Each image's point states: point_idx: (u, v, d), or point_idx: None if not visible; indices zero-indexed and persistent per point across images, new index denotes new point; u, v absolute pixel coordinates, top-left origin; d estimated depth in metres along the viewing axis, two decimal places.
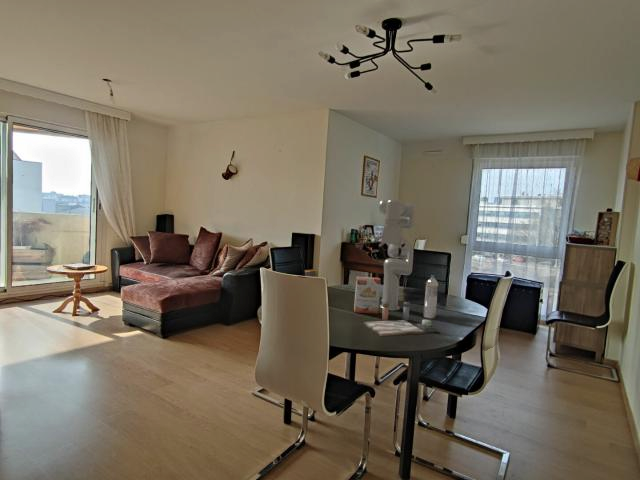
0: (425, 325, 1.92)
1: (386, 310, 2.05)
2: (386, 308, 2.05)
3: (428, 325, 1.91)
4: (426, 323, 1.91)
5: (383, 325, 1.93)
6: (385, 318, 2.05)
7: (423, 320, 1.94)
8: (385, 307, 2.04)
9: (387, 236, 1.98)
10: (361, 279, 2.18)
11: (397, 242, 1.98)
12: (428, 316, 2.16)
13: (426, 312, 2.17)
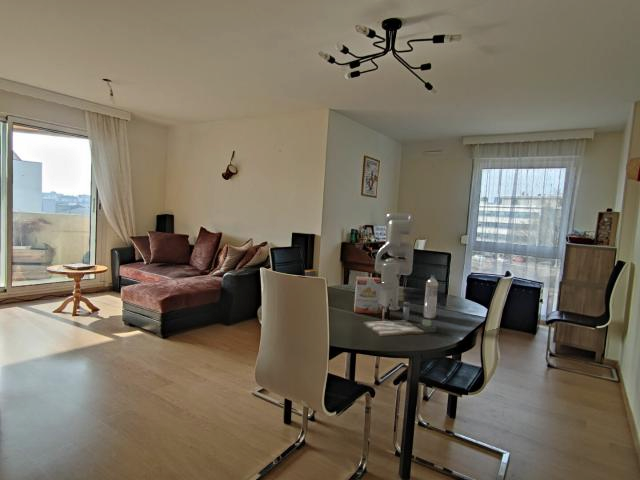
0: (425, 325, 1.92)
1: None
2: None
3: (428, 325, 1.91)
4: (426, 323, 1.91)
5: (383, 325, 1.93)
6: None
7: (423, 320, 1.94)
8: None
9: None
10: (361, 279, 2.18)
11: None
12: (428, 316, 2.16)
13: (426, 312, 2.17)
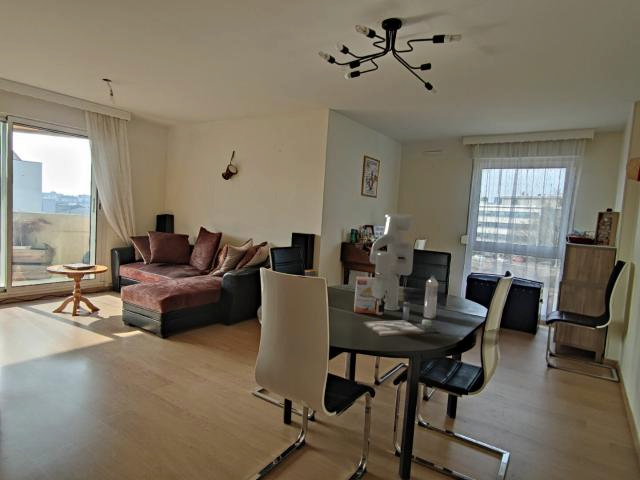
0: (425, 325, 1.92)
1: None
2: None
3: (428, 325, 1.91)
4: (426, 323, 1.91)
5: (383, 325, 1.93)
6: None
7: (423, 320, 1.94)
8: None
9: None
10: (361, 279, 2.18)
11: None
12: (428, 316, 2.16)
13: (426, 312, 2.17)
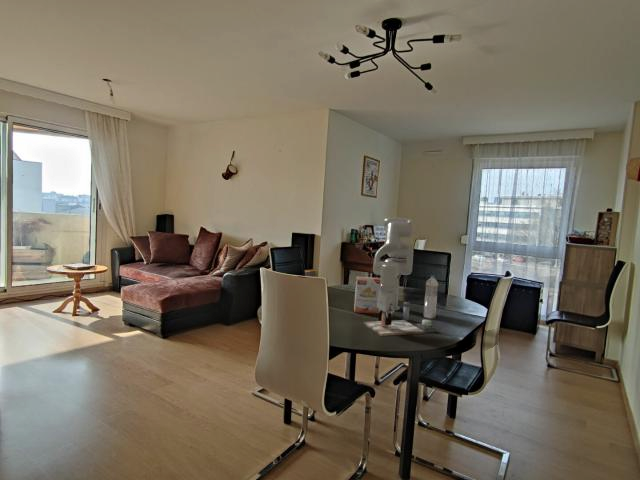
0: (425, 325, 1.92)
1: (386, 316, 1.88)
2: None
3: (428, 325, 1.91)
4: (426, 323, 1.91)
5: None
6: (384, 324, 1.88)
7: (423, 320, 1.94)
8: (385, 313, 1.88)
9: None
10: (361, 279, 2.18)
11: None
12: (428, 316, 2.16)
13: (426, 312, 2.17)
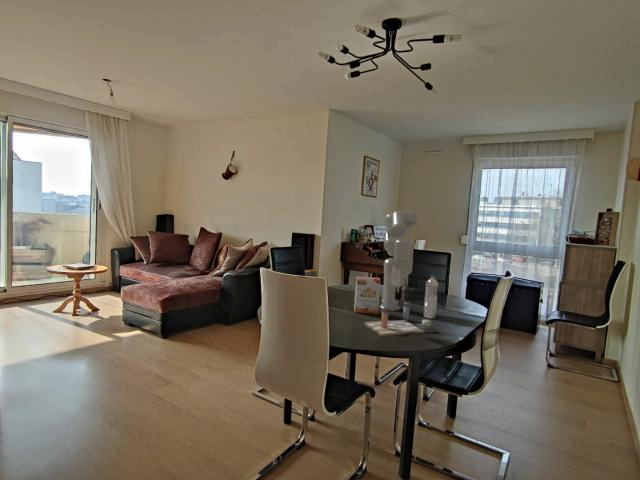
0: (425, 325, 1.92)
1: (386, 316, 1.88)
2: (386, 314, 1.88)
3: (428, 325, 1.91)
4: (426, 323, 1.91)
5: None
6: (384, 324, 1.88)
7: (423, 320, 1.94)
8: (385, 313, 1.88)
9: None
10: (361, 279, 2.18)
11: None
12: (428, 316, 2.16)
13: (426, 312, 2.17)
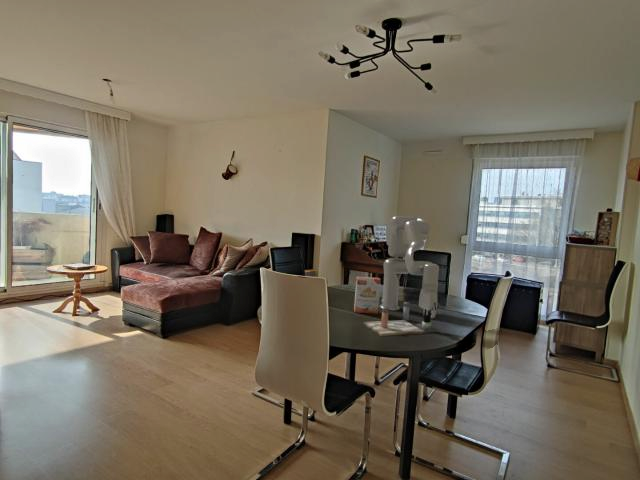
0: (425, 326, 1.92)
1: (386, 316, 1.88)
2: (386, 314, 1.88)
3: (428, 326, 1.91)
4: (426, 324, 1.91)
5: None
6: (384, 324, 1.88)
7: None
8: (385, 313, 1.88)
9: None
10: (361, 279, 2.18)
11: None
12: None
13: None
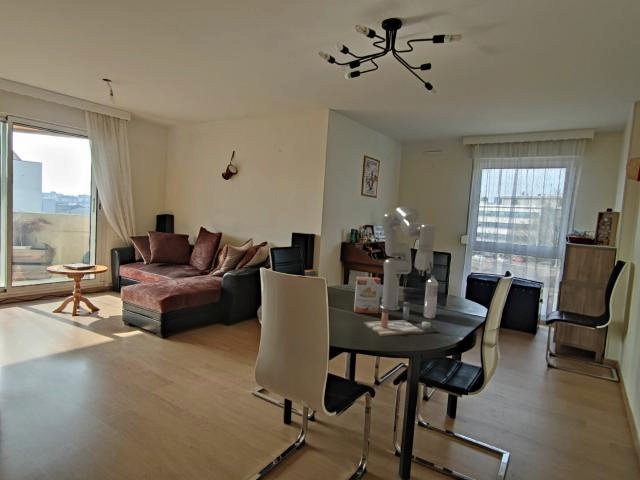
0: None
1: (386, 316, 1.88)
2: (386, 314, 1.88)
3: None
4: (426, 325, 1.91)
5: None
6: (384, 324, 1.88)
7: (423, 322, 1.94)
8: (385, 313, 1.88)
9: None
10: (361, 279, 2.18)
11: None
12: (428, 316, 2.16)
13: (426, 312, 2.17)
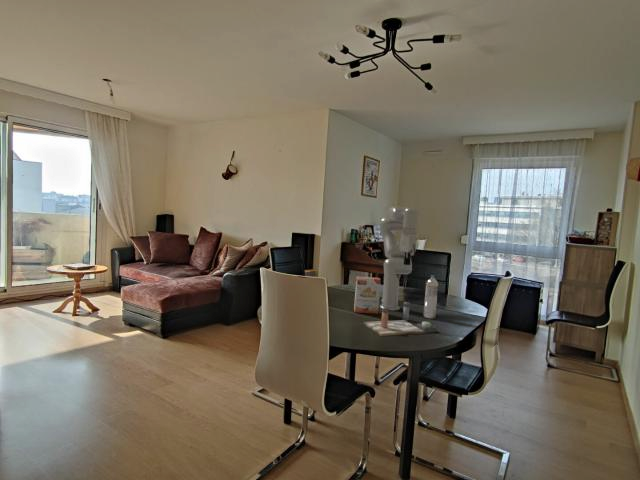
0: None
1: (386, 316, 1.88)
2: (386, 314, 1.88)
3: None
4: (426, 325, 1.91)
5: None
6: (384, 324, 1.88)
7: (423, 322, 1.94)
8: (385, 313, 1.88)
9: None
10: (361, 279, 2.18)
11: None
12: (428, 316, 2.16)
13: (426, 312, 2.17)
